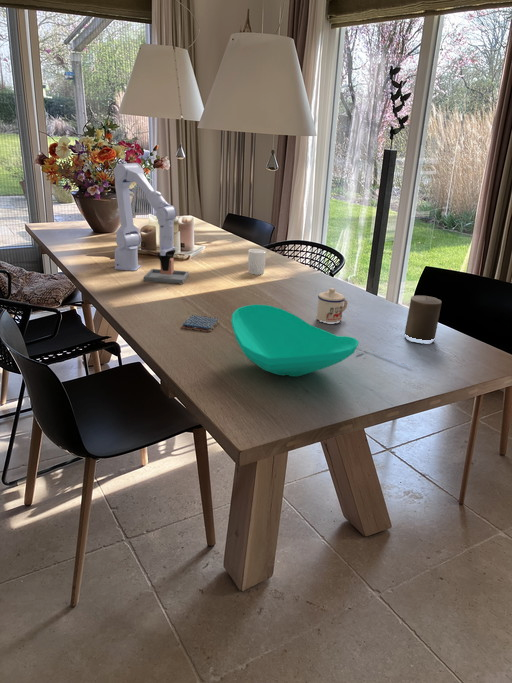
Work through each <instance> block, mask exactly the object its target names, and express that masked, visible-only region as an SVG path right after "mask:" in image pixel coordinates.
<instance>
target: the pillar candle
mask: <svg viewBox="0 0 512 683" xmlns="http://www.w3.org/2000/svg"><path fill="white" fill-rule="evenodd" d="M409 302H410V303H409V306H408V307H409V308H408V311H407V312H408V314H407V319H406V323H405V324H406V325H405V328H404V335H405V334H406V335H408V336H409V337H412V338H416V339H422V340H431V339H434V338H435V339H436V335H437V328H438V325H439V324H438V323H439V318H440V312H441V308H442V300H441V299H438V298H437V297H433V296H428V295H412V296H411V297H410V301H409Z"/></svg>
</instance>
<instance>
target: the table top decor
mask: <svg viewBox="0 0 512 683" xmlns="http://www.w3.org/2000/svg"><path fill="white" fill-rule="evenodd" d="M231 326H232V329H233V333H234V336H235V340H236V341H237V343H238V345H239V347H240V348H241V351H242V353H244V356H246V358H247V359H248V360H249V361H250V362H252V363H254V364H255V365H256V366H258V367H259V368H260V369H262V370H263V371H267V372H269V373H272V374H274V375H278V376H285V375H289V376H288V377H300V376H304V375H308V374H310V373H314V372H318V371H319V370H320V371H321V370H323V369H327V368H329V367H332V366H334V365H337V364H338V363H339V364H340V363H341V362H343V361H344V360H346V359H347V358H349V357H350V356H352V355H353V354H354V353H355V351H357V348H358V347H359V346H358V345H359V344H360V343H359V341H358V340H357V338H356V337H352V336H348V335H347V336H346V335H345V336H343V335H336V334H333V333H332V332H330V331H327V330H324V329H322V328H319V327H316V326H314V325H311V324H310V323H308V322H306V321H305V320H303V319H302V318H301V317H298V316H297V315H296V314H293V313H291V312H289V311H287V310H284V309H283V308H279V307H276V306H272V305H268V304H250V305H249V304H248V305H245V306H241V307H239V308H237V309H235V311H234V312H233V313H232V314H231Z"/></svg>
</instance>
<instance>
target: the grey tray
mask: <svg viewBox="0 0 512 683" xmlns="http://www.w3.org/2000/svg"><path fill="white" fill-rule="evenodd" d="M189 273H190V272H189V270H188V271H187V270H174V272H173V273H172V275H167V274H161V268H160V269H158V268H151V269H150V270H149V271H147V273H146V274H145V275H144V276H143V282H149V283H150V282H151V283H162V282H168V283H167V284H175V283H182V284H181V285H183V284H184V283H185V282H186V280H187V279H188V277H189V275H190V274H189ZM183 282H184V283H183Z"/></svg>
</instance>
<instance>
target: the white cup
mask: <svg viewBox="0 0 512 683" xmlns="http://www.w3.org/2000/svg"><path fill="white" fill-rule="evenodd" d="M247 252H248V256H247V261H248V263H247V264H248V266H247V267H248V273H249V275H253V274H255V276H260V274H261V275H263V274H264V272H265V267H266V257H267V250H265V249H261V248H250V249H248V251H247Z"/></svg>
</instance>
